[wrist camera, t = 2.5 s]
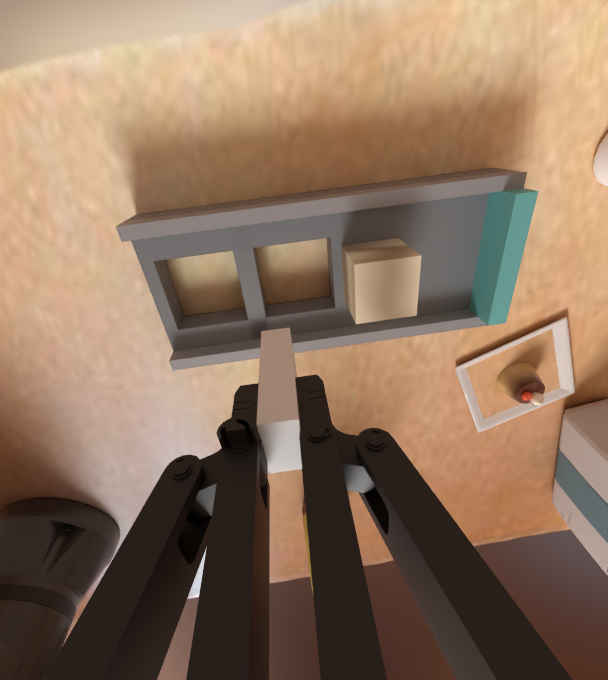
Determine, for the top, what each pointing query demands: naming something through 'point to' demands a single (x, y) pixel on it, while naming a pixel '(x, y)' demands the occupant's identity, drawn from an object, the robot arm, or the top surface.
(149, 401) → the top surface
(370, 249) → the maple block
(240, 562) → the robot arm
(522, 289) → the top surface
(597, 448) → the stereo radio cassette player
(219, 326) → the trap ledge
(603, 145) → the white jar
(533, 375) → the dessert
